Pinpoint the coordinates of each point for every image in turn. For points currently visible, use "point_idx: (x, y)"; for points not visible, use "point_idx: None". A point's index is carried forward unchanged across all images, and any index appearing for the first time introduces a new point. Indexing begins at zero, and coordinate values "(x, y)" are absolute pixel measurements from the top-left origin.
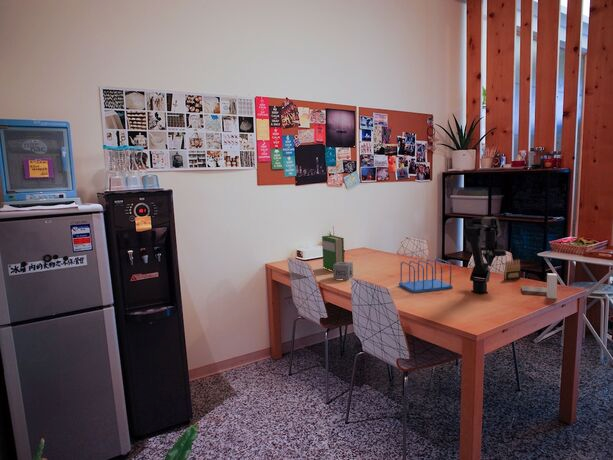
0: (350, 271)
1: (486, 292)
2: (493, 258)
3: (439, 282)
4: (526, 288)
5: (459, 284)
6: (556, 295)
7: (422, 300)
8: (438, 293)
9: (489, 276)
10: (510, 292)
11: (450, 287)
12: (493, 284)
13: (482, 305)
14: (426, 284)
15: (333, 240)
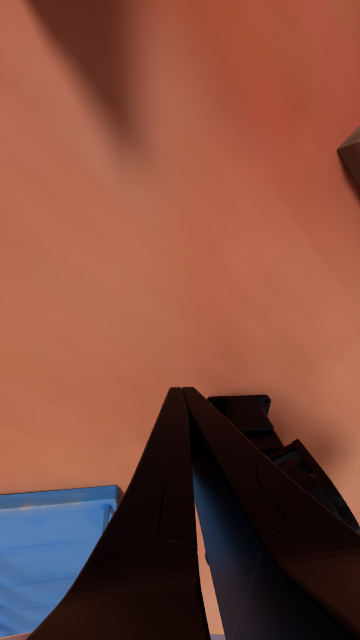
0: None
1: (268, 408)
2: (309, 513)
3: (25, 526)
4: None
5: (48, 425)
6: None
7: (208, 595)
8: None
9: (316, 463)
10: (330, 285)
11: (117, 501)
12: (130, 233)
13: (357, 491)
14: (49, 575)
15: None
